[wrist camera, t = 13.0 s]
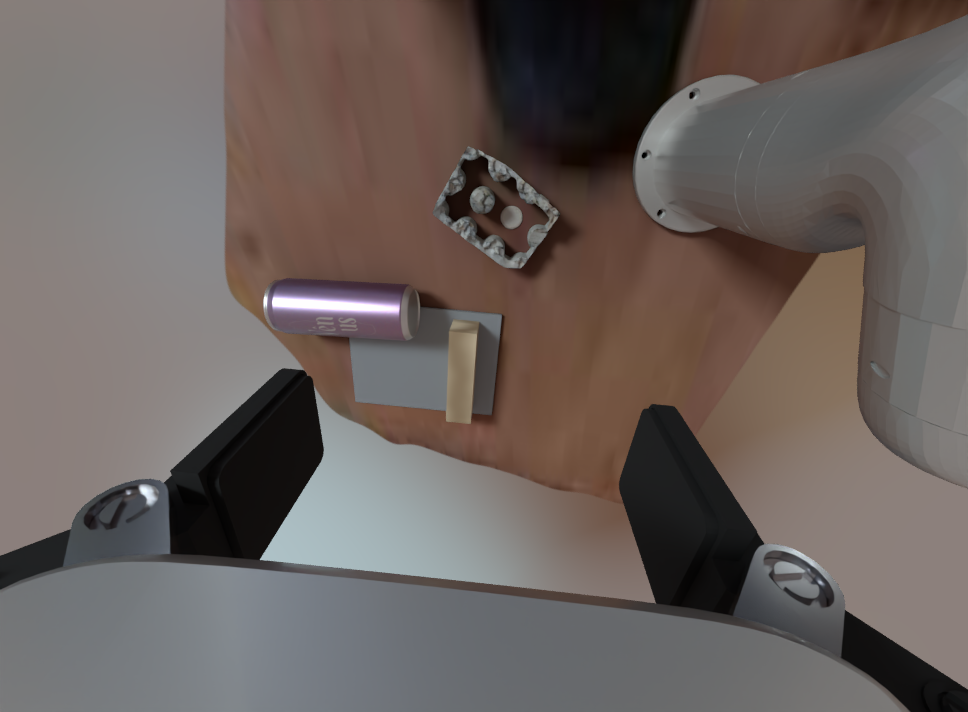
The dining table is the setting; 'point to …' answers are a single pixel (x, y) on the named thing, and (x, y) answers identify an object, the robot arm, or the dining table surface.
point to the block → (461, 370)
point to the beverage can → (343, 308)
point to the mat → (424, 363)
